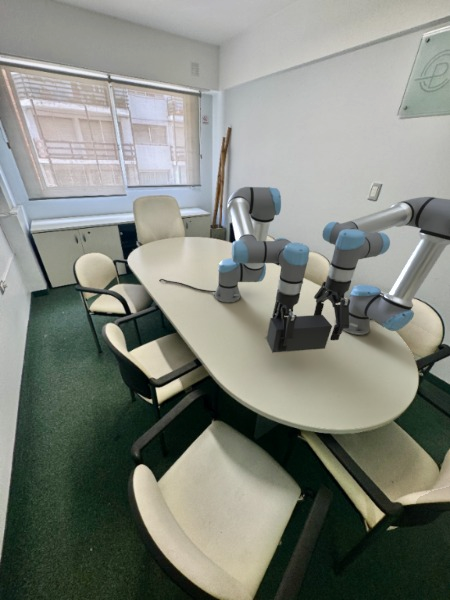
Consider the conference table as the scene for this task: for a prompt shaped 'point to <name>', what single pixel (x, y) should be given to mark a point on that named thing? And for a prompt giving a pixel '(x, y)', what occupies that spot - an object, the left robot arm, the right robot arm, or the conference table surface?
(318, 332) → the box
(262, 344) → the conference table surface
